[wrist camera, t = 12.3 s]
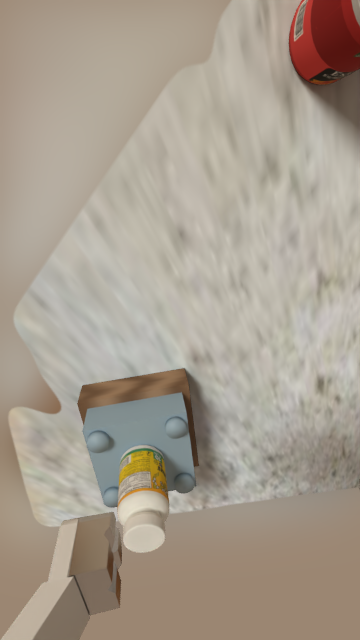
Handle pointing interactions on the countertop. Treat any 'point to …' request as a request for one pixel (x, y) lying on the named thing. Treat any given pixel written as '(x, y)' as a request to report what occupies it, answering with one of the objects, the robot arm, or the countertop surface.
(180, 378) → the base brick
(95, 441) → the top brick
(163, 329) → the countertop surface
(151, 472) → the supplement bottle
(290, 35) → the canned food
